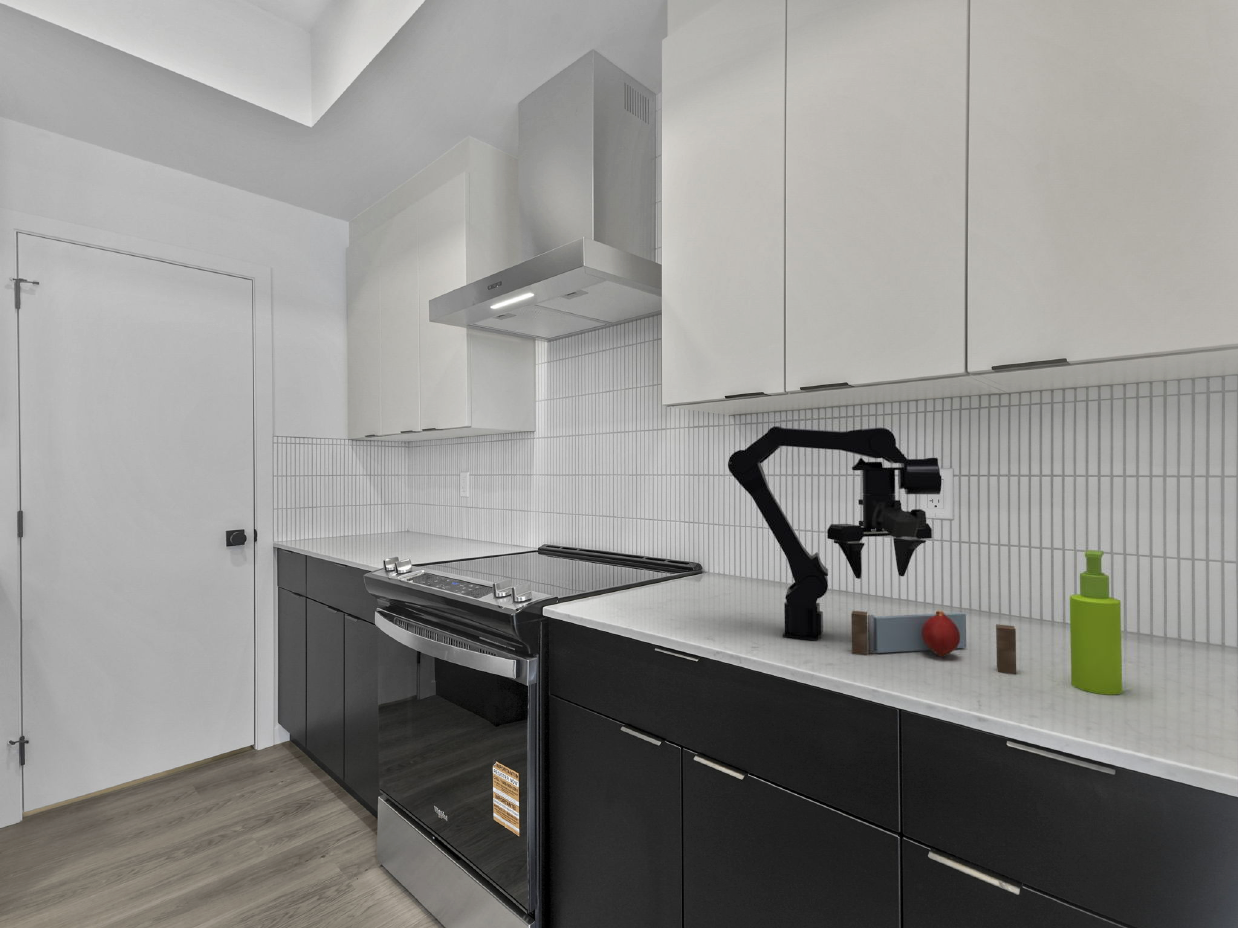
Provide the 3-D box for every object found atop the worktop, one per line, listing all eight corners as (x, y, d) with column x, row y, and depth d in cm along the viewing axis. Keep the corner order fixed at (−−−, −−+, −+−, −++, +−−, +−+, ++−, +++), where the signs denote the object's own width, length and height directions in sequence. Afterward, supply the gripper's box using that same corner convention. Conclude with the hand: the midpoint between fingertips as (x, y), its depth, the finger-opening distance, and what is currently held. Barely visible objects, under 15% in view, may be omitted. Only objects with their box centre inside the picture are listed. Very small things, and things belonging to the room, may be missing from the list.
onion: (926, 649, 108) (926, 604, 108) (963, 655, 104) (962, 609, 104) (918, 657, 103) (918, 610, 103) (956, 663, 100) (955, 615, 100)
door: (870, 653, 105) (870, 616, 105) (866, 651, 106) (866, 614, 106) (966, 647, 108) (965, 611, 108) (961, 645, 109) (961, 610, 109)
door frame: (851, 654, 105) (851, 614, 106) (853, 649, 108) (852, 610, 108) (1016, 673, 94) (1015, 629, 95) (1013, 668, 97) (1013, 625, 97)
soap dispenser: (1123, 684, 90) (1120, 550, 90) (1121, 698, 84) (1118, 555, 85) (1074, 675, 93) (1071, 547, 94) (1069, 688, 88) (1066, 552, 88)
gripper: (860, 497, 104) (861, 588, 103) (953, 495, 107) (955, 582, 107) (825, 494, 114) (826, 576, 114) (910, 493, 118) (912, 572, 118)
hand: (880, 577), depth 113 cm, fingers open, 9 cm apart
